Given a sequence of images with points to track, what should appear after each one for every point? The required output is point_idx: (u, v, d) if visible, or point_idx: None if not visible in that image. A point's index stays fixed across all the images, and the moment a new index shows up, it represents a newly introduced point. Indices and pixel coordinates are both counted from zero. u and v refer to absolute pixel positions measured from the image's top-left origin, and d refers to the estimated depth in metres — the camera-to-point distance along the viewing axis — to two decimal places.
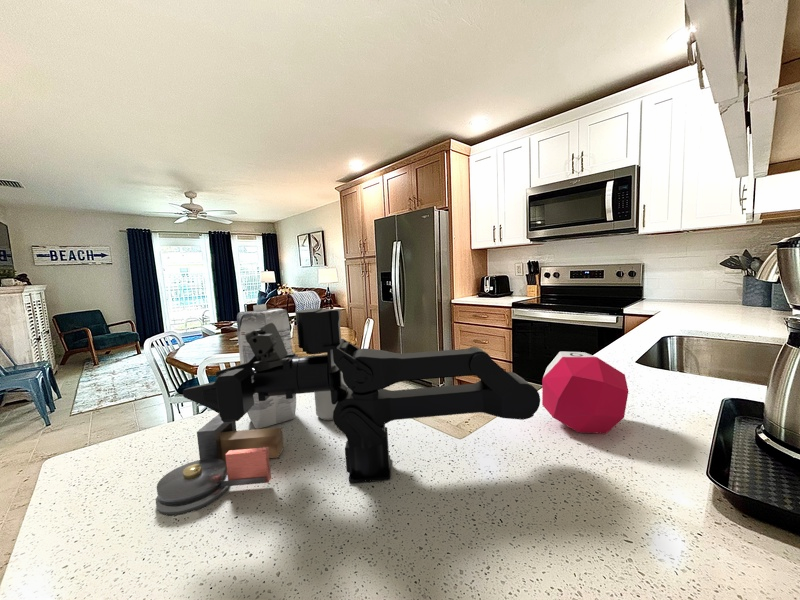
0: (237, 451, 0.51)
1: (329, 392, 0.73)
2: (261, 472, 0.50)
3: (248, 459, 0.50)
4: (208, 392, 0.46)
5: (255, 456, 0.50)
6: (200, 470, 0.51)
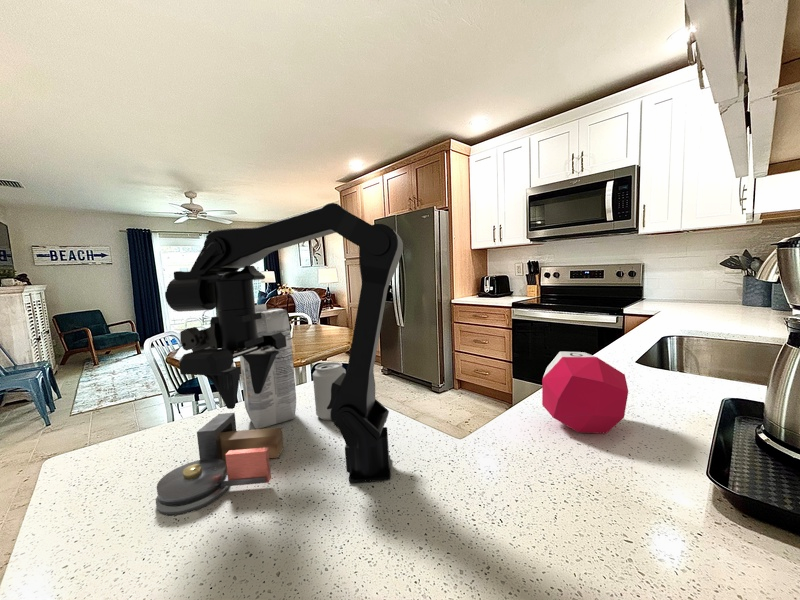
0: (237, 451, 0.51)
1: (329, 392, 0.73)
2: (261, 472, 0.50)
3: (248, 459, 0.50)
4: (222, 385, 0.51)
5: (255, 456, 0.50)
6: (200, 470, 0.51)
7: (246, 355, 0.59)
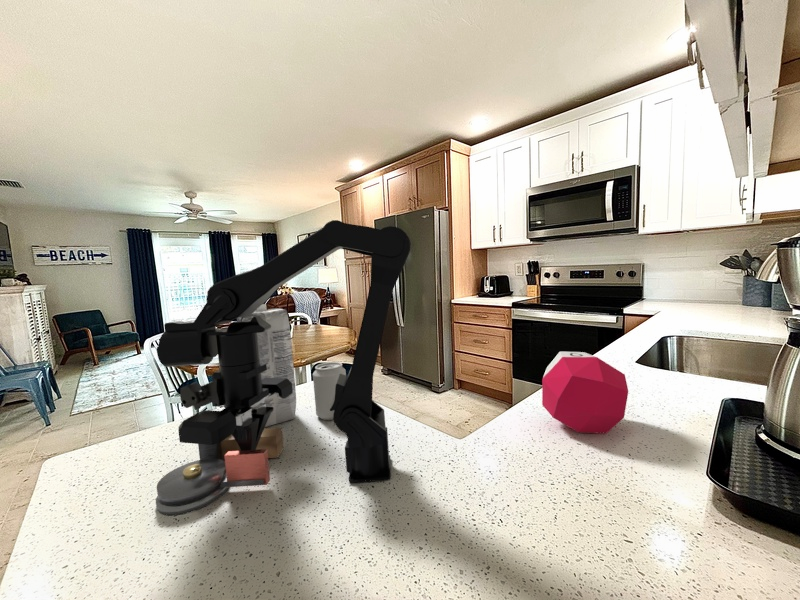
0: (236, 452, 0.50)
1: (329, 392, 0.73)
2: (260, 474, 0.50)
3: (247, 460, 0.50)
4: (240, 436, 0.51)
5: (254, 458, 0.50)
6: (200, 470, 0.51)
7: None
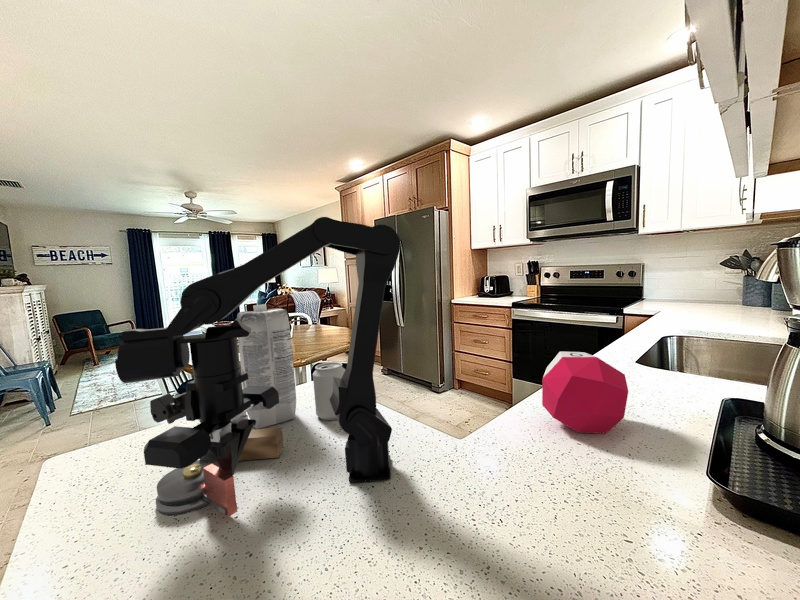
0: (213, 468, 0.46)
1: (329, 392, 0.73)
2: (223, 502, 0.44)
3: (215, 482, 0.45)
4: (219, 452, 0.46)
5: (219, 482, 0.44)
6: (196, 473, 0.50)
7: None
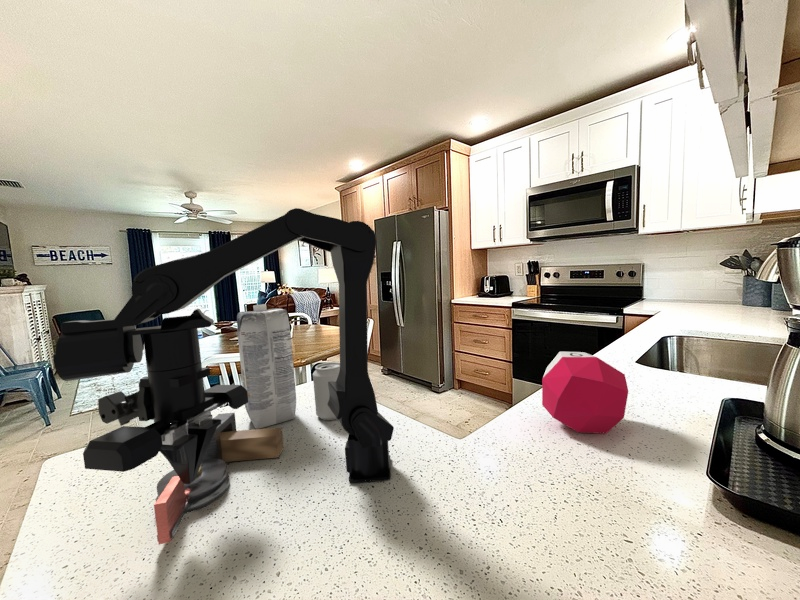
0: (174, 481, 0.44)
1: None
2: None
3: None
4: (175, 457, 0.42)
5: None
6: None
7: None
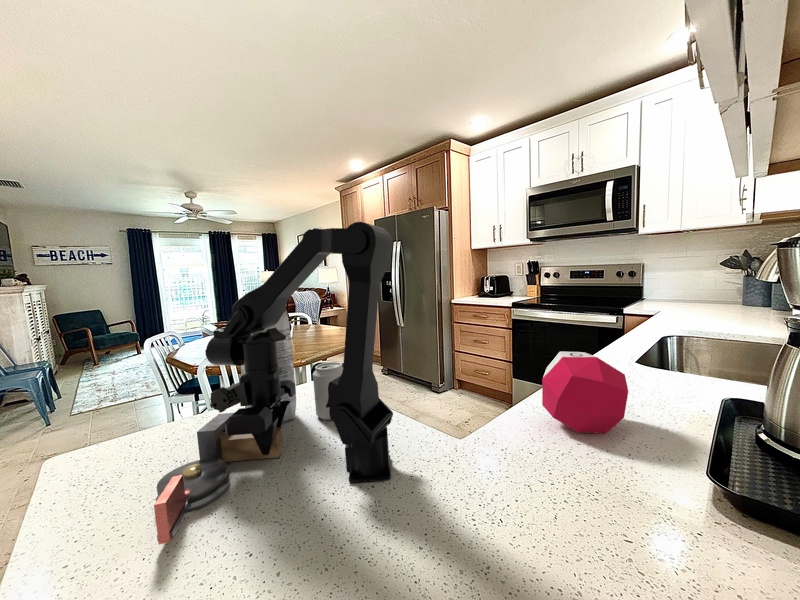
0: (174, 481, 0.44)
1: None
2: None
3: None
4: (260, 435, 0.58)
5: None
6: (190, 475, 0.49)
7: None
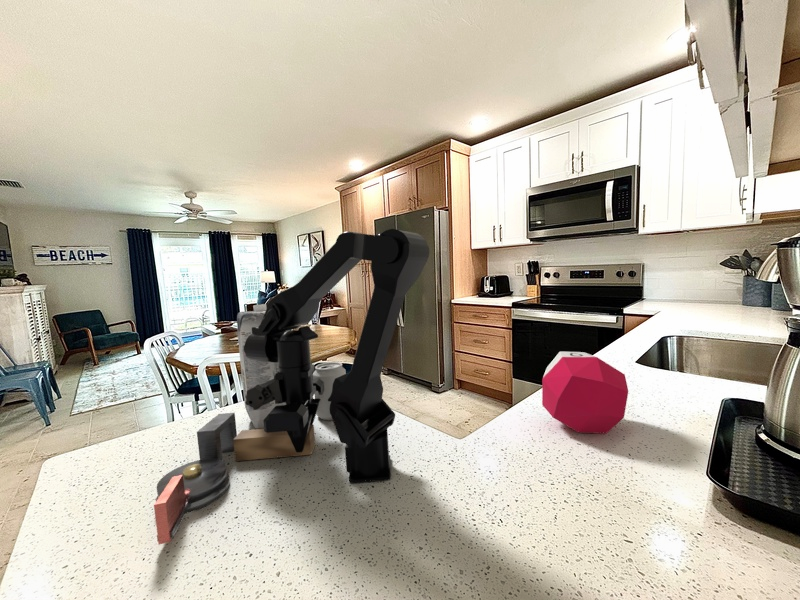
0: (174, 481, 0.44)
1: (329, 392, 0.73)
2: None
3: None
4: (294, 432, 0.58)
5: None
6: (190, 475, 0.49)
7: None
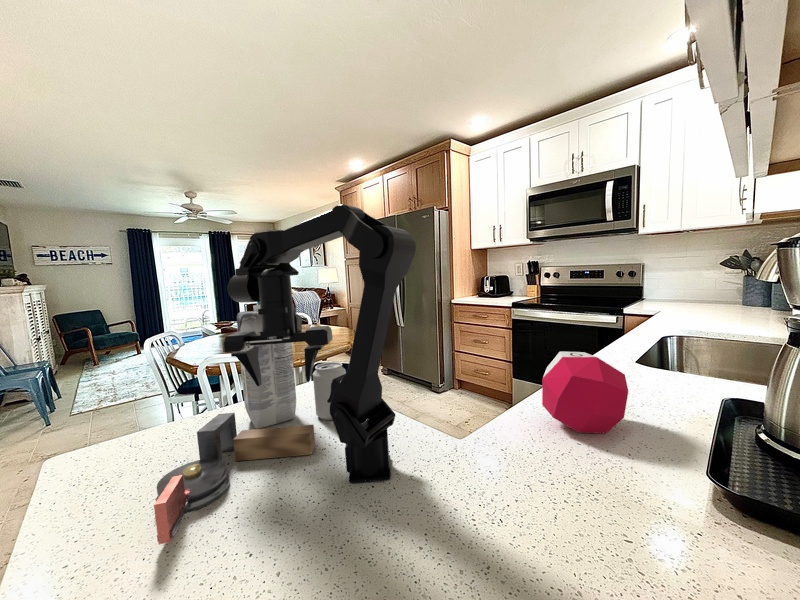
0: (174, 481, 0.44)
1: (329, 392, 0.73)
2: None
3: None
4: None
5: None
6: (190, 475, 0.49)
7: None
